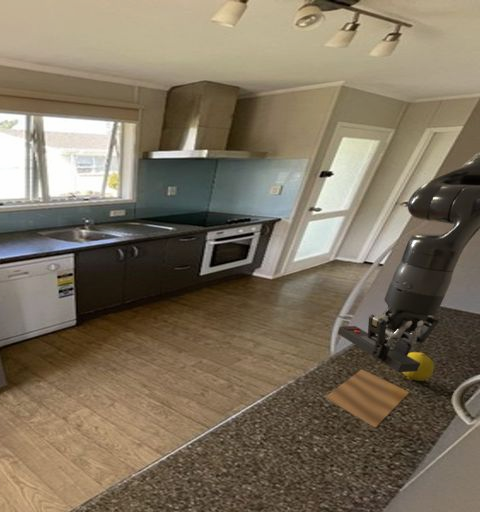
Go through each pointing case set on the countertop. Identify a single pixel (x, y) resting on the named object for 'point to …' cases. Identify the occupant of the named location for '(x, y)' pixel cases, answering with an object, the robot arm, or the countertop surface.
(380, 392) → the placemat
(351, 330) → the remote
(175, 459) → the countertop surface
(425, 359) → the lemon
